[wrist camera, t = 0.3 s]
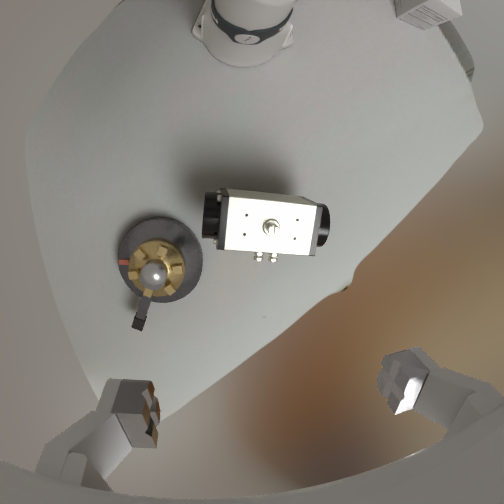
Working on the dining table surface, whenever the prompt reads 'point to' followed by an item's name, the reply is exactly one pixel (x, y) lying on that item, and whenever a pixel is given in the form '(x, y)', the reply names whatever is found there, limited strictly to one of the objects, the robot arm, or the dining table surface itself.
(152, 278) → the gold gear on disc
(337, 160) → the dining table surface
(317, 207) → the ball valve
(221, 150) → the dining table surface
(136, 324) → the lever handle valve
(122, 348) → the dining table surface
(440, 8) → the supplement box
